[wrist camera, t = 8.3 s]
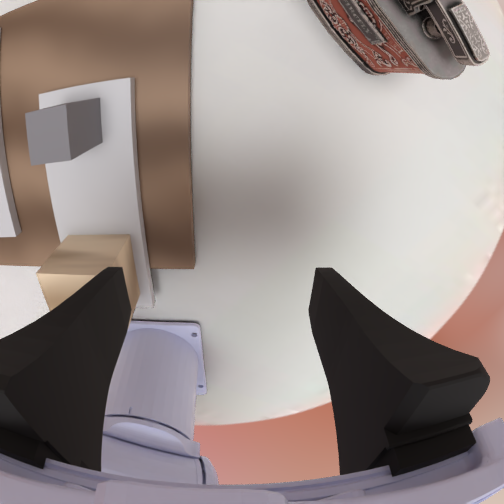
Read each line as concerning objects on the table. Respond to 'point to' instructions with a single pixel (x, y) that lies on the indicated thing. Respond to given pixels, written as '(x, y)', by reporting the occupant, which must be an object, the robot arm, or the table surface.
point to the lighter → (405, 35)
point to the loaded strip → (93, 165)
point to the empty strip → (6, 195)
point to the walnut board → (91, 71)
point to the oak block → (87, 266)
